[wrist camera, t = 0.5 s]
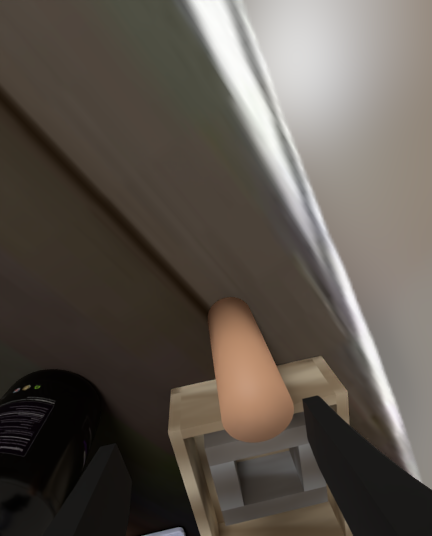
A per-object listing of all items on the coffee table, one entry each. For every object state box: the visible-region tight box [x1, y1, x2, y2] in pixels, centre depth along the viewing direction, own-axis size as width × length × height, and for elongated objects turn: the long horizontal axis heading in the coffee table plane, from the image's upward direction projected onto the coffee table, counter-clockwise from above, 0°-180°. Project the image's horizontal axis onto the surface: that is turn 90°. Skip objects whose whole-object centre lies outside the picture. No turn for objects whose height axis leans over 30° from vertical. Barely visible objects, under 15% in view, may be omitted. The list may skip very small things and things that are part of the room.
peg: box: [208, 297, 294, 443], centre depth 17 cm, size 3×3×9 cm
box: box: [168, 356, 353, 536], centre depth 23 cm, size 16×12×4 cm
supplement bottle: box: [0, 369, 101, 536], centre depth 16 cm, size 7×7×12 cm
